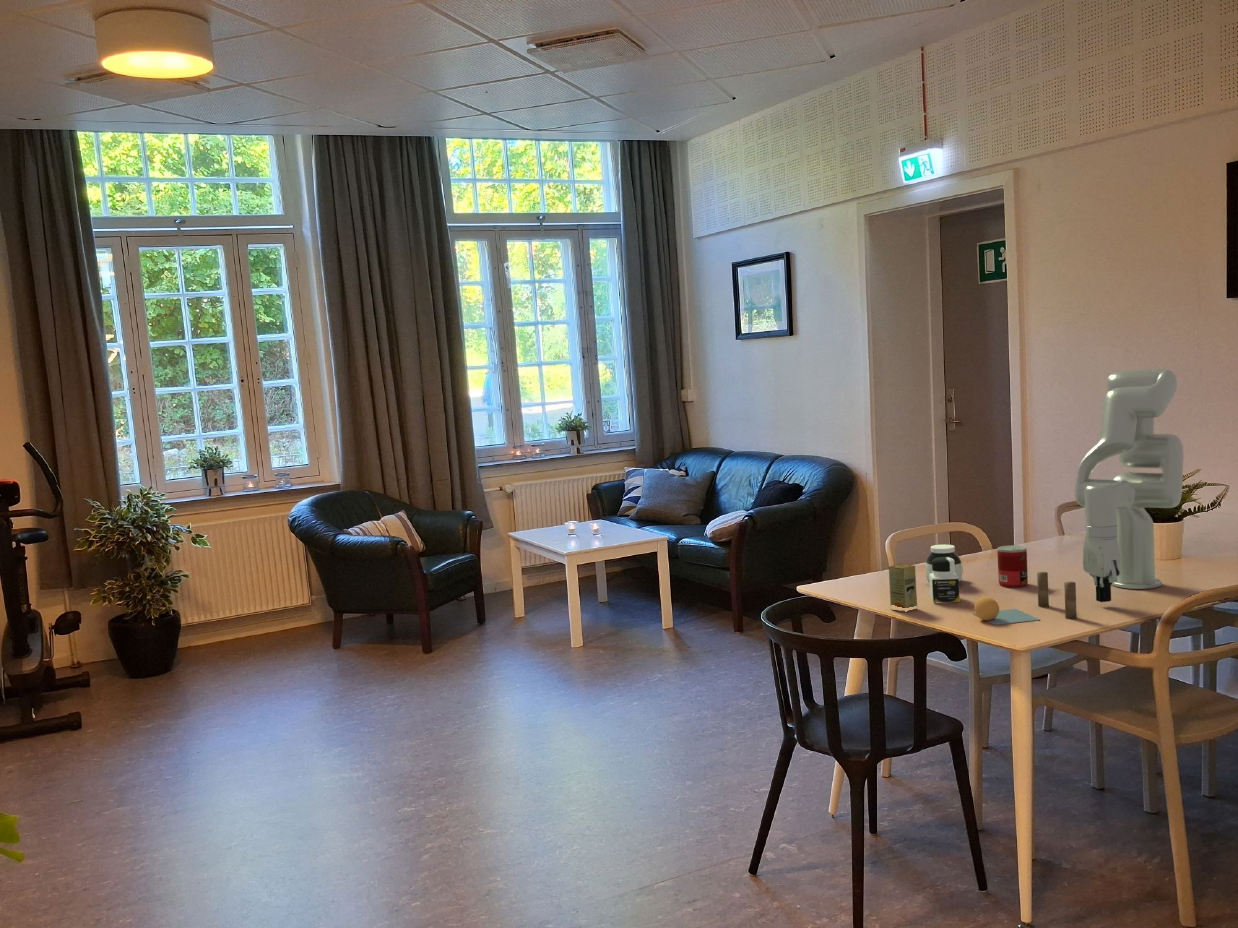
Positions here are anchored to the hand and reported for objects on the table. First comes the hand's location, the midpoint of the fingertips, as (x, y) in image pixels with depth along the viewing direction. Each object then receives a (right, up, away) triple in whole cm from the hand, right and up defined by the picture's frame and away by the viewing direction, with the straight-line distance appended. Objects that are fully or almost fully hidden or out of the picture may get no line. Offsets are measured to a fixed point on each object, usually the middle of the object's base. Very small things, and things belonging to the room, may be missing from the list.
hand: (1103, 600), depth 265 cm
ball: (-32, -1, -5) cm, 33 cm away
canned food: (-12, 0, +31) cm, 33 cm away
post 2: (-12, -3, -8) cm, 15 cm away
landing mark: (-27, -4, -3) cm, 27 cm away
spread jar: (-29, 0, +39) cm, 48 cm away
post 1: (-14, -2, +5) cm, 15 cm away
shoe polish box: (-49, -4, +13) cm, 50 cm away
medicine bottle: (-35, -3, +19) cm, 40 cm away
